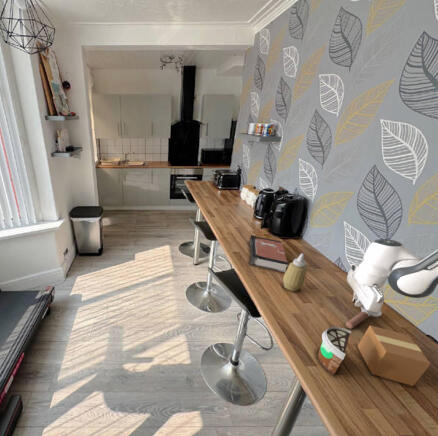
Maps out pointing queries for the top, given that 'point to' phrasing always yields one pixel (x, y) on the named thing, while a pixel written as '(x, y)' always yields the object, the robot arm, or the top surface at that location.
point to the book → (267, 254)
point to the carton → (392, 355)
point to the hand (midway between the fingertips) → (355, 304)
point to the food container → (333, 347)
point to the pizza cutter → (361, 317)
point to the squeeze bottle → (295, 274)
